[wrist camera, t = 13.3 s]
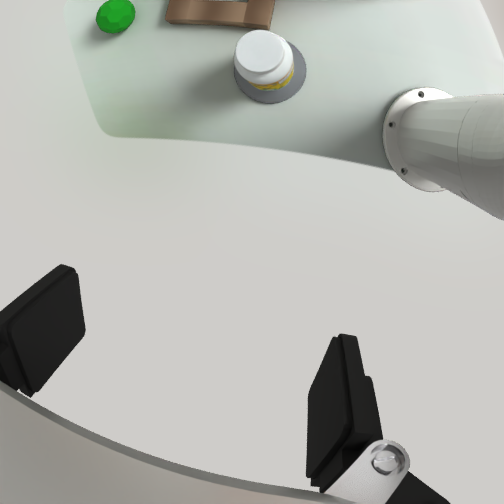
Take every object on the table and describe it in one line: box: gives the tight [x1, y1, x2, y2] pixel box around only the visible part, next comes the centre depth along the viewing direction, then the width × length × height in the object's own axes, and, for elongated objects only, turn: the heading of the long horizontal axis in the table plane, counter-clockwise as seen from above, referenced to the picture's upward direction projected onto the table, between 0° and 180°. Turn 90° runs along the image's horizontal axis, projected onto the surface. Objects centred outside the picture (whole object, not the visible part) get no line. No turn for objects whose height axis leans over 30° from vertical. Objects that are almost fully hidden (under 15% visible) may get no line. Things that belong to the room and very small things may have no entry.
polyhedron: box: [96, 0, 135, 33], centre depth 27 cm, size 5×5×5 cm
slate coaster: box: [234, 41, 306, 103], centre depth 31 cm, size 8×8×1 cm
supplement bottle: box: [234, 30, 294, 91], centre depth 26 cm, size 5×5×10 cm
